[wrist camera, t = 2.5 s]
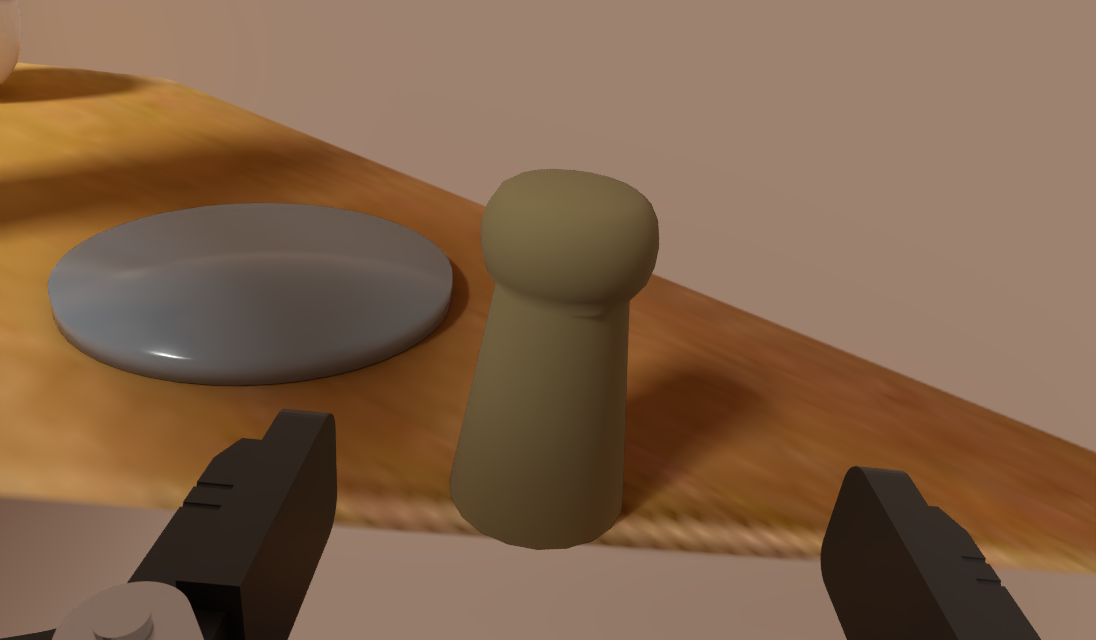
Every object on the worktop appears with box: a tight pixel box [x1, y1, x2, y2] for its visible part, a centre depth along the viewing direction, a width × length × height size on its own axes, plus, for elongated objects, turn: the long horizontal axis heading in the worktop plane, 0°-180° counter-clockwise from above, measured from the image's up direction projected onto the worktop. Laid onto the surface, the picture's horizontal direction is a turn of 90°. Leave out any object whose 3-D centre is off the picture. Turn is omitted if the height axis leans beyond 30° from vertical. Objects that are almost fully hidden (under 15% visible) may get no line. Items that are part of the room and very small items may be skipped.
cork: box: [450, 169, 659, 550], centre depth 24 cm, size 6×6×11 cm
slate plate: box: [48, 203, 453, 386], centre depth 37 cm, size 18×18×1 cm
